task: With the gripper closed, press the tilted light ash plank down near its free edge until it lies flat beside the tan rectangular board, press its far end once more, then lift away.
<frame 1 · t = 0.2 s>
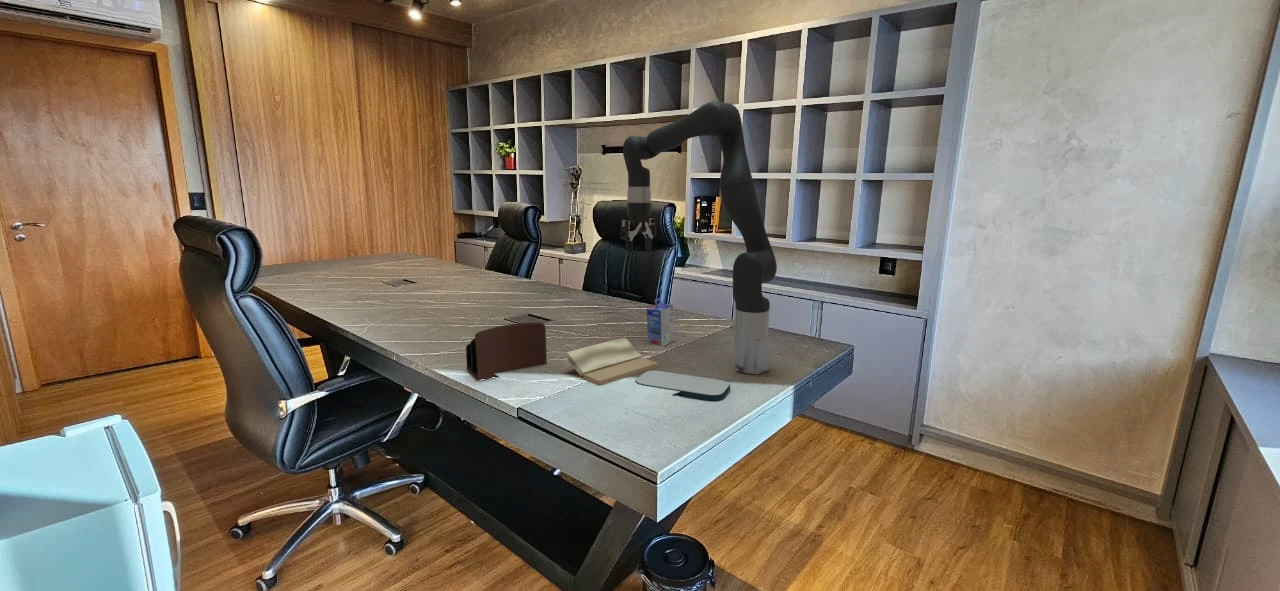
hand: (638, 251, 188), 29 cm above the table, fingers open, 8 cm apart
ash plank: (604, 356, 159), point 4 cm above the table, hinge at 30.0°
tan rectangular board: (610, 373, 158), on the table
letter holder: (507, 370, 161), on the table
ink cartridge box: (660, 343, 187), on the table
external hard drive: (681, 390, 148), on the table
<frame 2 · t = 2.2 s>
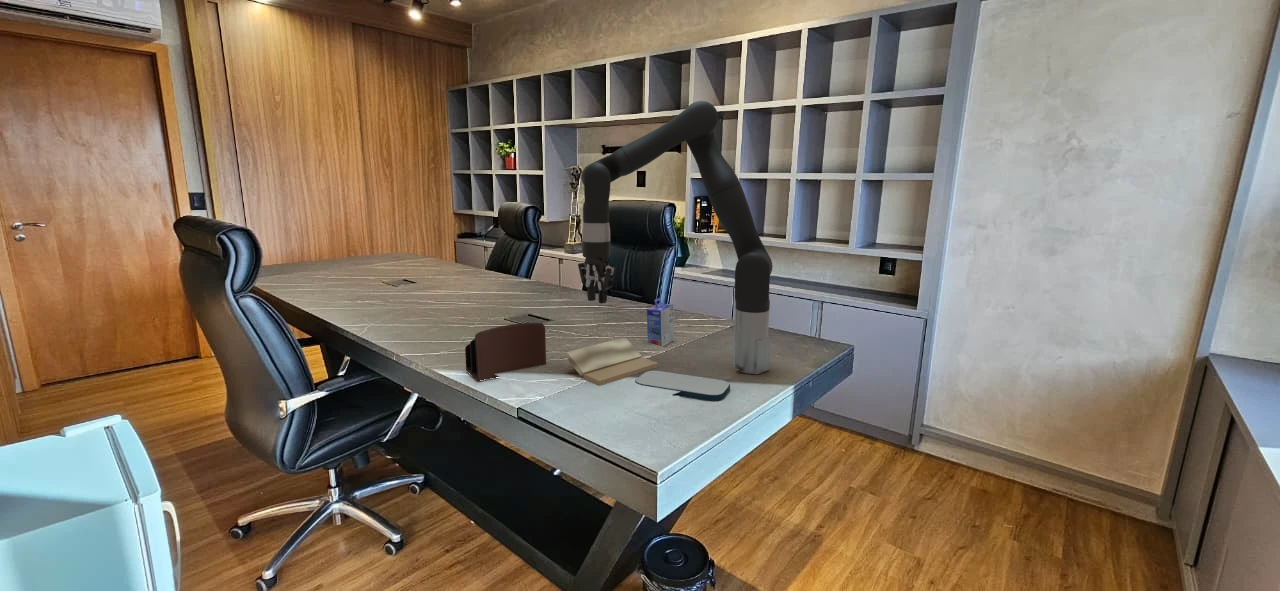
hand: (597, 301, 158), 19 cm above the table, fingers open, 4 cm apart
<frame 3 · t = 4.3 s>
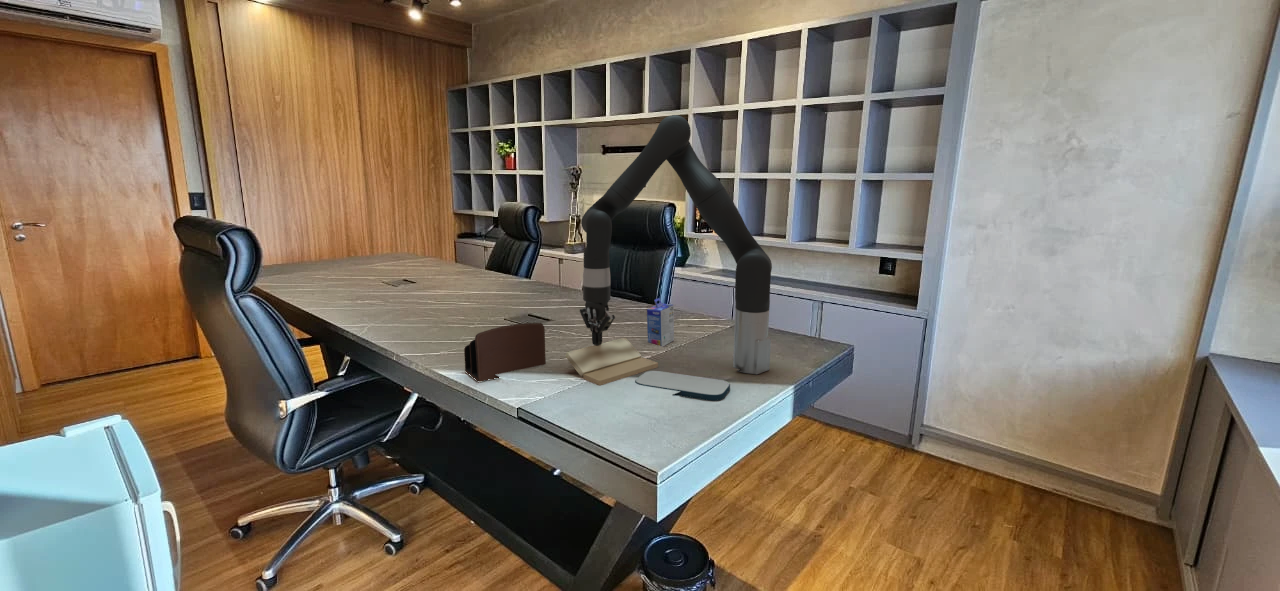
hand: (597, 344, 161), 7 cm above the table, fingers closed
ash plank: (604, 356, 159), point 4 cm above the table, hinge at 29.4°, touching gripper
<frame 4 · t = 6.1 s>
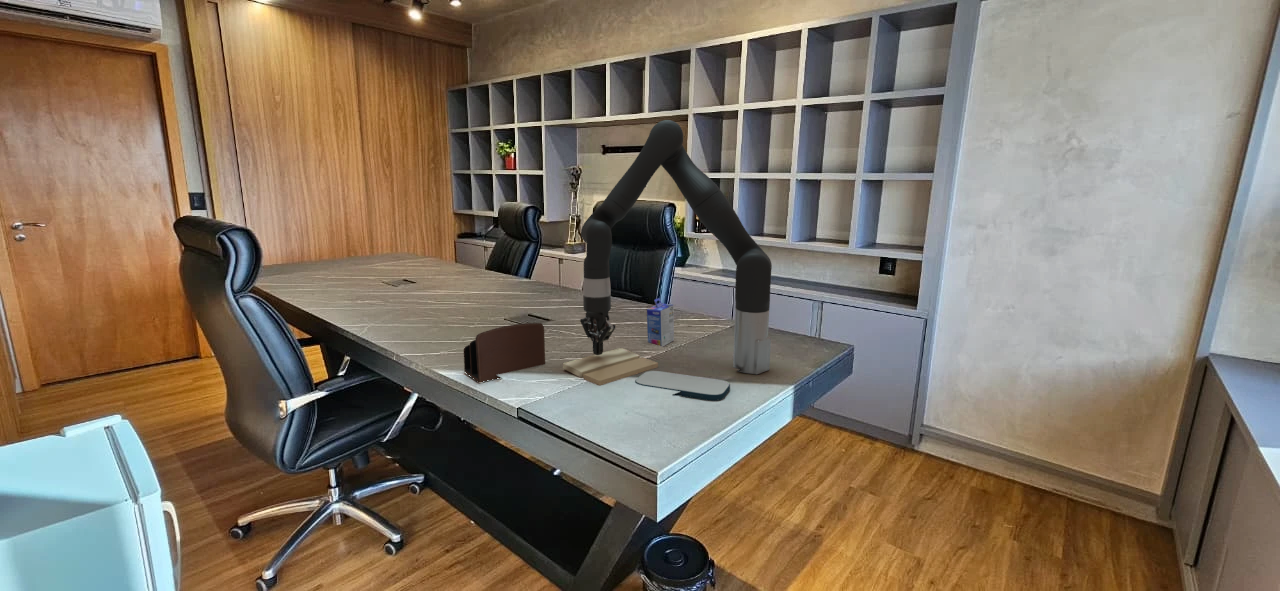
hand: (597, 354, 161), 4 cm above the table, fingers closed
ash plank: (602, 361, 160), point 2 cm above the table, hinge at 3.6°
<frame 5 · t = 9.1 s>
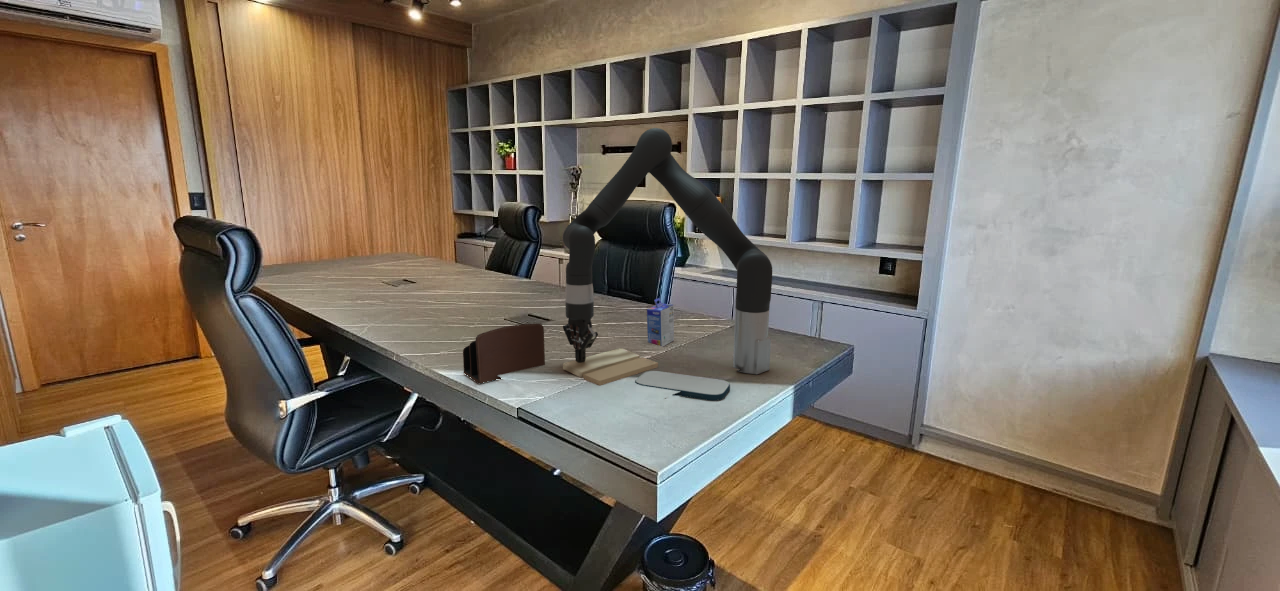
hand: (580, 361, 158), 3 cm above the table, fingers closed
ash plank: (602, 361, 160), point 2 cm above the table, hinge at 3.1°, touching gripper
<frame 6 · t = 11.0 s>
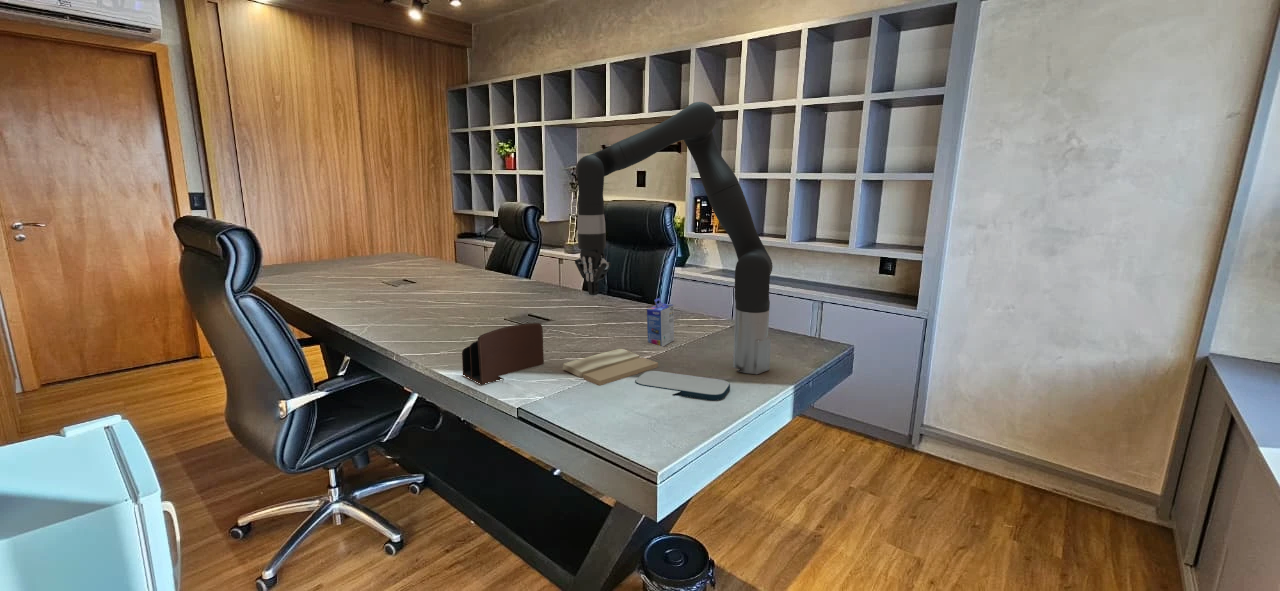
hand: (593, 294, 159), 21 cm above the table, fingers closed
ash plank: (602, 362, 160), point 2 cm above the table, hinge at 2.7°
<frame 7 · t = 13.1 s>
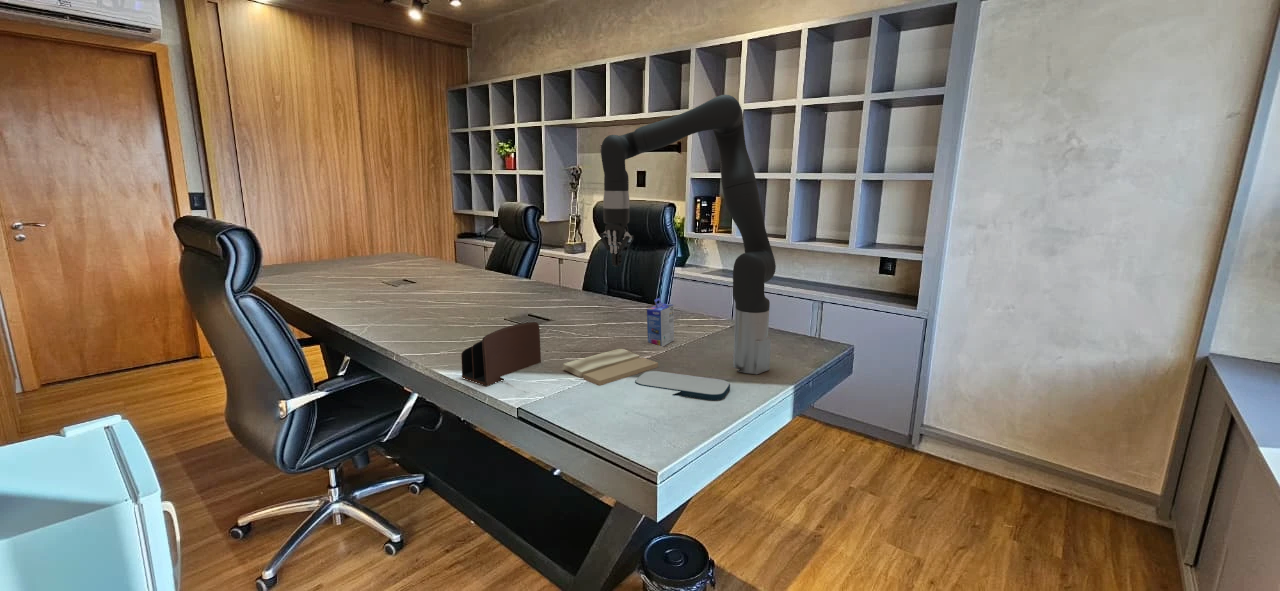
hand: (616, 266, 170), 27 cm above the table, fingers closed
at the end: ash plank at +3° (first picture: +30°); external hard drive moved 0.7 cm from its start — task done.
